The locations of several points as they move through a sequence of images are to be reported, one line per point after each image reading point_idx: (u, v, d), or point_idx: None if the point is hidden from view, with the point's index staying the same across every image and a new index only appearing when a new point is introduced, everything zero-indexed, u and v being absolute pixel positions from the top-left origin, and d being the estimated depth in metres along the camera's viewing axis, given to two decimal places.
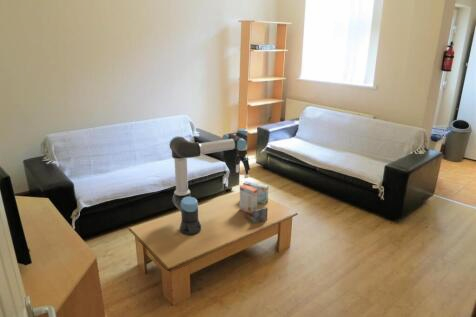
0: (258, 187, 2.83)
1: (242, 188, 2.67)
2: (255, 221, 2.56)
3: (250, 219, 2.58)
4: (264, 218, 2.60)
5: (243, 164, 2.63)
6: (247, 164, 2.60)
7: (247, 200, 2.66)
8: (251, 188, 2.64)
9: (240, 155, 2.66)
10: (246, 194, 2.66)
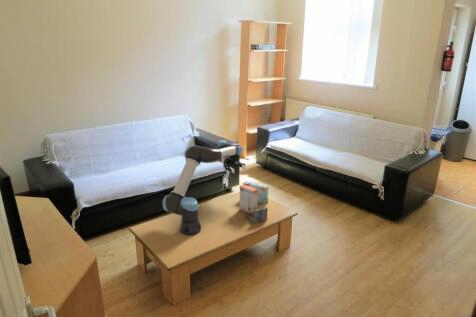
0: (258, 187, 2.83)
1: (242, 188, 2.67)
2: (255, 221, 2.56)
3: (250, 219, 2.58)
4: (264, 218, 2.60)
5: (237, 163, 2.85)
6: None
7: (247, 200, 2.66)
8: (251, 188, 2.64)
9: None
10: (246, 194, 2.66)
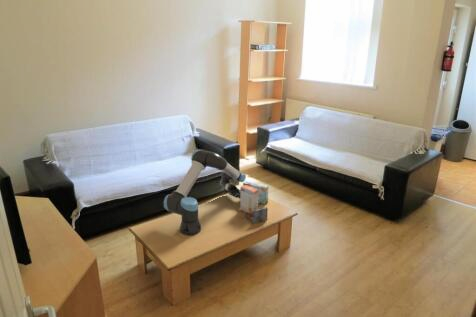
0: (258, 187, 2.83)
1: (243, 188, 2.66)
2: (255, 221, 2.56)
3: (250, 219, 2.58)
4: (264, 218, 2.60)
5: (238, 192, 2.86)
6: None
7: (248, 201, 2.65)
8: (252, 189, 2.63)
9: None
10: (247, 195, 2.65)
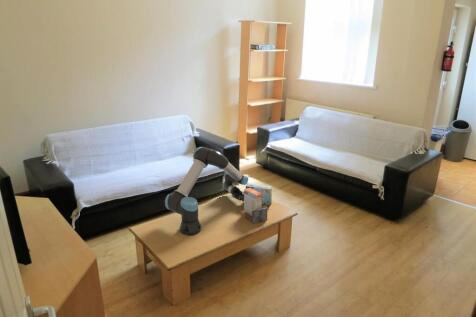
0: (262, 189, 2.80)
1: (246, 191, 2.61)
2: (255, 221, 2.56)
3: (250, 219, 2.58)
4: (264, 218, 2.60)
5: (242, 194, 2.80)
6: None
7: (251, 205, 2.60)
8: (255, 192, 2.58)
9: (234, 191, 2.86)
10: (250, 198, 2.59)
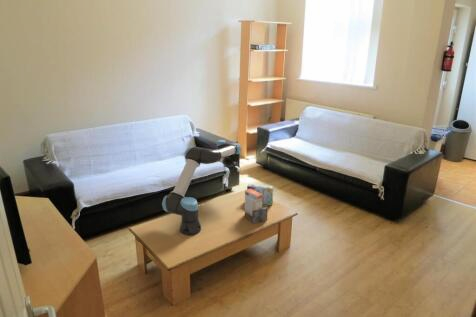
0: (264, 189, 2.81)
1: (247, 192, 2.60)
2: (255, 221, 2.56)
3: (250, 219, 2.58)
4: (264, 218, 2.60)
5: (233, 164, 2.85)
6: None
7: (252, 206, 2.58)
8: (256, 193, 2.56)
9: (226, 161, 2.90)
10: (251, 199, 2.58)
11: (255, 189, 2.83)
